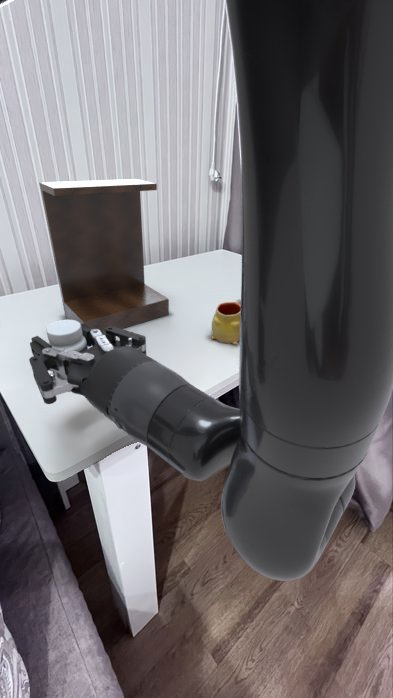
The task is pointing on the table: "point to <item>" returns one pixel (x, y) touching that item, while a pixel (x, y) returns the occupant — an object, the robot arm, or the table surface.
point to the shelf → (101, 251)
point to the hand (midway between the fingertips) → (55, 335)
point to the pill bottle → (66, 337)
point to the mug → (227, 322)
